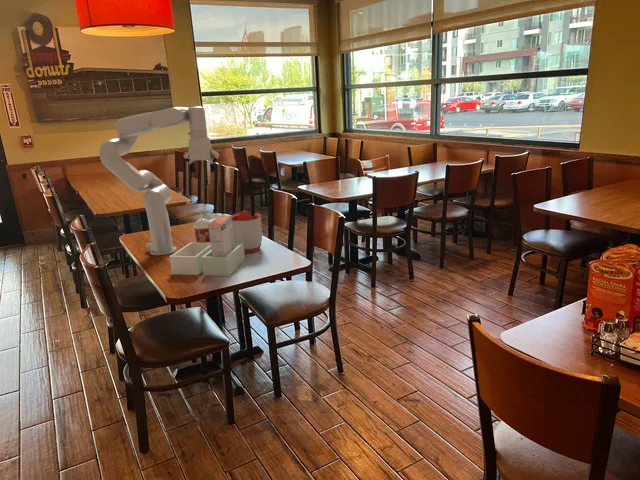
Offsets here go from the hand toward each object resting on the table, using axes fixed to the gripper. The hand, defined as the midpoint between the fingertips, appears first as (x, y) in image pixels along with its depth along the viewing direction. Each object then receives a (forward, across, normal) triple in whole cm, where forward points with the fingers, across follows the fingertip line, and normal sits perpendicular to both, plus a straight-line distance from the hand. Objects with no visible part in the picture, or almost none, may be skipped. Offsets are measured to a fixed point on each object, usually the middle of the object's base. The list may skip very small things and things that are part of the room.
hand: (203, 172), depth 218 cm
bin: (+38, +16, -23) cm, 47 cm away
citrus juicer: (+38, +18, +2) cm, 43 cm away
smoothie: (+38, -1, -5) cm, 39 cm away
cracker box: (+38, +16, -24) cm, 47 cm away
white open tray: (+38, +2, -23) cm, 45 cm away
